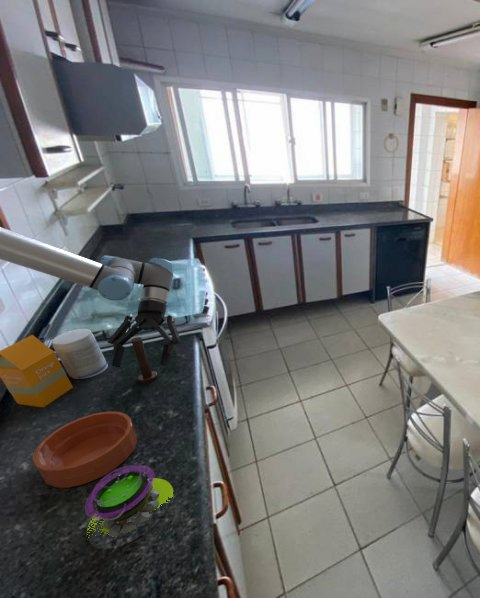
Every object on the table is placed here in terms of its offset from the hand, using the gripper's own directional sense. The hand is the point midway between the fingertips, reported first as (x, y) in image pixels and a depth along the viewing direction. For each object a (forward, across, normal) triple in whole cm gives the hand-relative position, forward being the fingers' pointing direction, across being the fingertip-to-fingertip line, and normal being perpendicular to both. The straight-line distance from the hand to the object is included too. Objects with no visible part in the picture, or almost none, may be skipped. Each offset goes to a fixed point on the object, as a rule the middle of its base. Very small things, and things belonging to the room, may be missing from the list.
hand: (140, 366), depth 104 cm
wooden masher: (+4, 0, -7) cm, 8 cm away
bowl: (+25, -2, +15) cm, 29 cm away
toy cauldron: (+36, -19, +26) cm, 48 cm away
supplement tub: (0, +20, -10) cm, 22 cm away
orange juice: (+9, +23, -1) cm, 25 cm away
